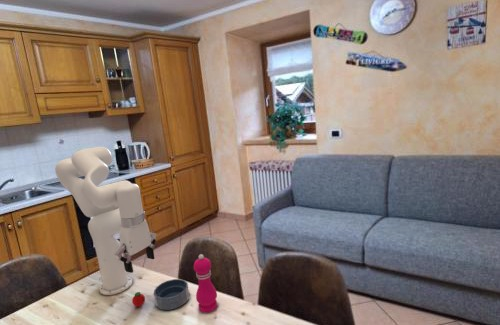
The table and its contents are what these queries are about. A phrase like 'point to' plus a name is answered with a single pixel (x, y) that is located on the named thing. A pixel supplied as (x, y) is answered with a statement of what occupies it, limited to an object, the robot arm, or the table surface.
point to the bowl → (171, 294)
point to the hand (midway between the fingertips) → (140, 264)
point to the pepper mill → (205, 285)
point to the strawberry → (138, 299)
